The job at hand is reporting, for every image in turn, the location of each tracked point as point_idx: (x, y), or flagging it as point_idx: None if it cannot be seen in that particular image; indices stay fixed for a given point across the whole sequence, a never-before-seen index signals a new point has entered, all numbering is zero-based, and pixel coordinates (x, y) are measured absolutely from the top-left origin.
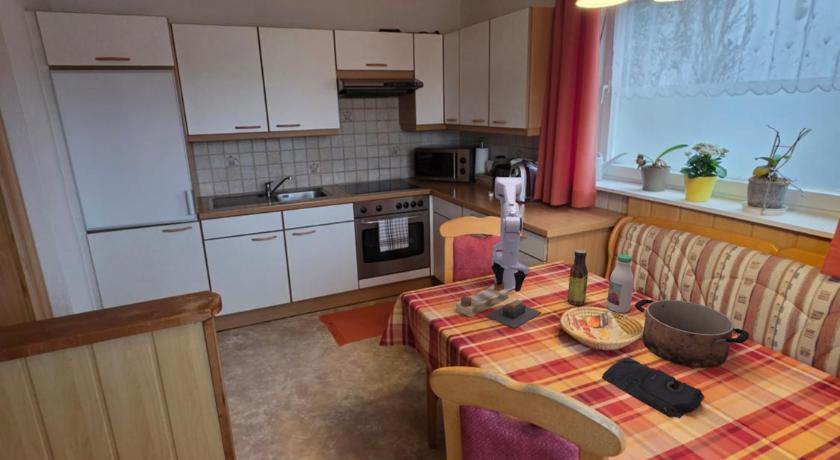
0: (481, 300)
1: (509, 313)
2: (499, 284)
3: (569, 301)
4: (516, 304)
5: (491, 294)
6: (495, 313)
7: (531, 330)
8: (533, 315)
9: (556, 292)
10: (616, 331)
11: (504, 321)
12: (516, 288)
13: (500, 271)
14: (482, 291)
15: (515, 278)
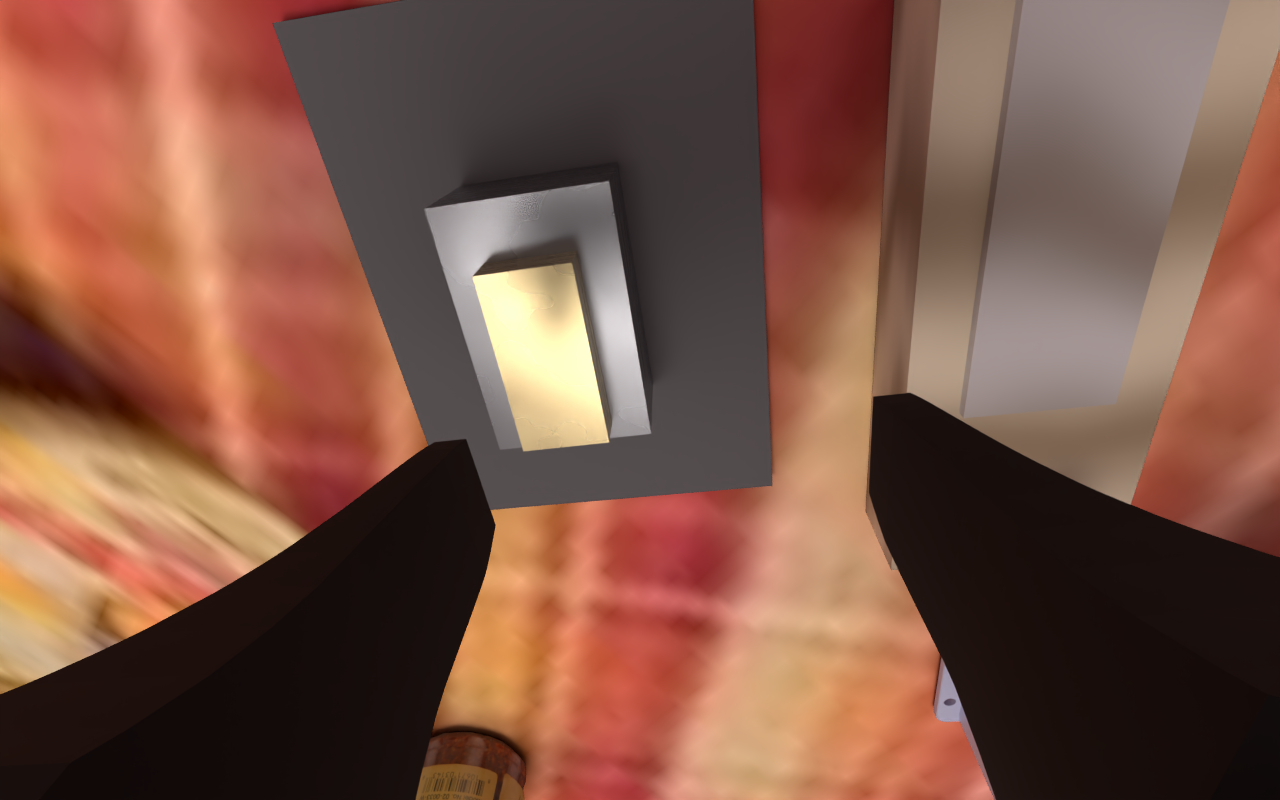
0: (1010, 82)
1: (507, 185)
2: (877, 426)
3: (480, 744)
4: (501, 342)
5: (997, 357)
6: (703, 113)
7: (191, 172)
8: (433, 416)
9: (663, 782)
10: (16, 648)
11: (467, 36)
12: (399, 471)
13: (1035, 714)
14: (1167, 344)
15: (230, 646)
